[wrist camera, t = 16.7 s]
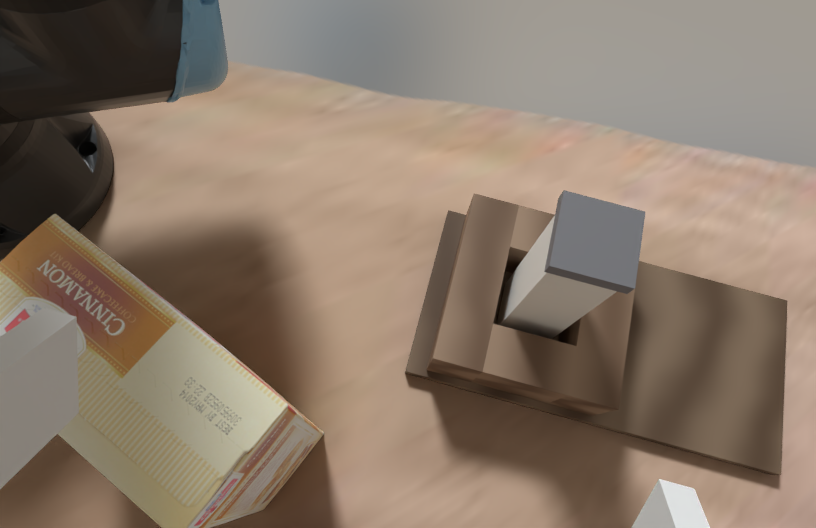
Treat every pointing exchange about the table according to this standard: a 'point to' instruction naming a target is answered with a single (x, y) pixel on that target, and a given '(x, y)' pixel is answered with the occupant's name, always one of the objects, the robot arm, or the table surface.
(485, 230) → the wooden socket base
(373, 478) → the table surface
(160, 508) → the coffeecake box
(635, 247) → the post
